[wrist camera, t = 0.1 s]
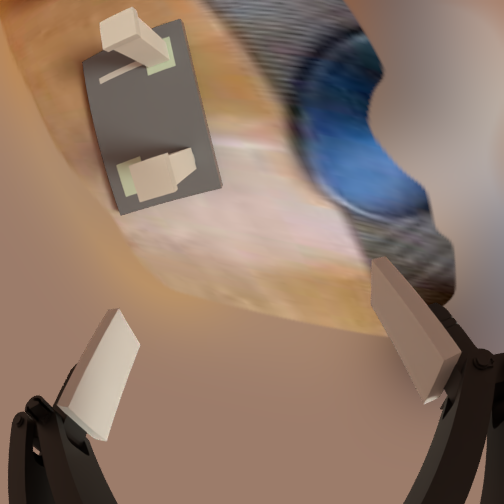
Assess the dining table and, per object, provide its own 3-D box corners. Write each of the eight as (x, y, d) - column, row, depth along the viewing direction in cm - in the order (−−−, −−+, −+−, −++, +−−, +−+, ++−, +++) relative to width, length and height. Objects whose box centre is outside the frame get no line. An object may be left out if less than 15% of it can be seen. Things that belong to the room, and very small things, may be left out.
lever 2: (167, 152, 33) (128, 165, 22) (192, 144, 33) (163, 153, 22) (174, 177, 35) (139, 202, 23) (199, 170, 35) (174, 192, 23)
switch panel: (88, 63, 28) (81, 61, 26) (183, 23, 27) (180, 18, 25) (125, 211, 39) (120, 215, 37) (222, 185, 38) (221, 188, 36)
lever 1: (143, 49, 27) (99, 22, 15) (167, 39, 26) (132, 6, 15) (147, 70, 28) (102, 49, 17) (172, 61, 28) (136, 33, 16)
